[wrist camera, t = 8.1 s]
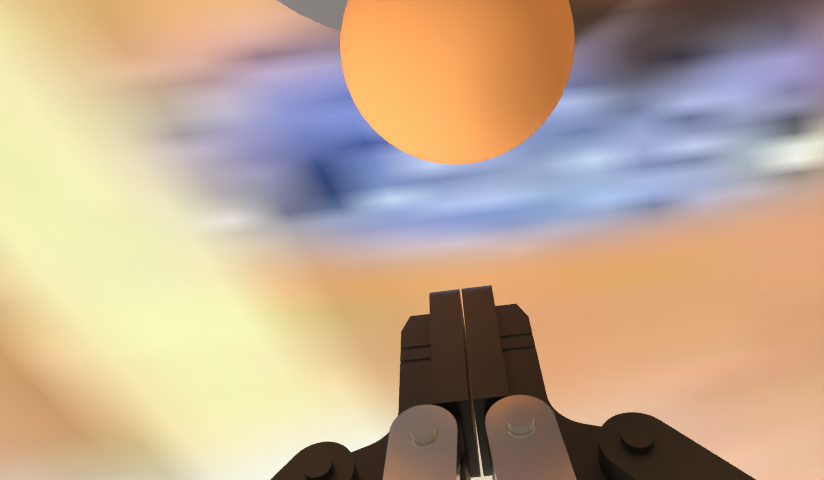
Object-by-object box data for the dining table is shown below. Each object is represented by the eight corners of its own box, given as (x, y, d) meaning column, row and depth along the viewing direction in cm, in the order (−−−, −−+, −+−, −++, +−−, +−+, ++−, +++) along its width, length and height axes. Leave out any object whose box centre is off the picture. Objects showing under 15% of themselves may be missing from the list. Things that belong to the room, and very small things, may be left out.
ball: (299, 117, 13) (320, -133, 13) (361, 187, 18) (373, 6, 19) (588, 116, 12) (590, -150, 13) (561, 190, 17) (564, 0, 18)
